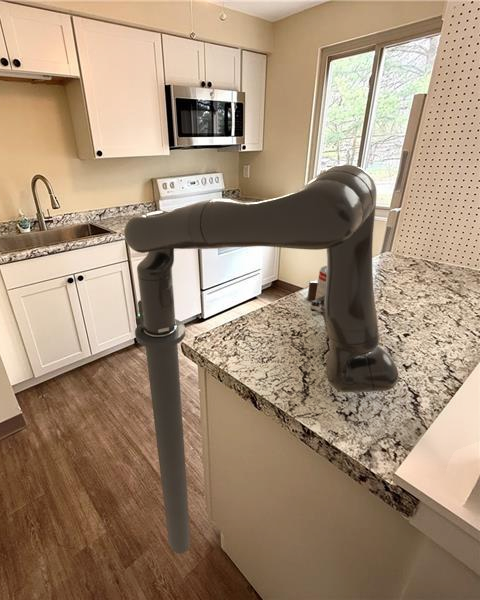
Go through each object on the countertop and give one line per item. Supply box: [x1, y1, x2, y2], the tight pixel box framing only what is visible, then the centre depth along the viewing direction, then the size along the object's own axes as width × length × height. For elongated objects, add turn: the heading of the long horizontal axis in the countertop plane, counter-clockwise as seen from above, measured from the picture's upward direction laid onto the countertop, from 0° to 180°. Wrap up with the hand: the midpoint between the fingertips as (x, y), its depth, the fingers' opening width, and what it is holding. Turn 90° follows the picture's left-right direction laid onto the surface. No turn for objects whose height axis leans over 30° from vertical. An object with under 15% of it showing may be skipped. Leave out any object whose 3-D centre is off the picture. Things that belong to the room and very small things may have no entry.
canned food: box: [315, 265, 327, 314], centre depth 87 cm, size 8×8×12 cm
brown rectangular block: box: [306, 279, 318, 302], centre depth 93 cm, size 10×2×6 cm, turn 68°
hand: (334, 293), depth 83 cm, fingers closed
